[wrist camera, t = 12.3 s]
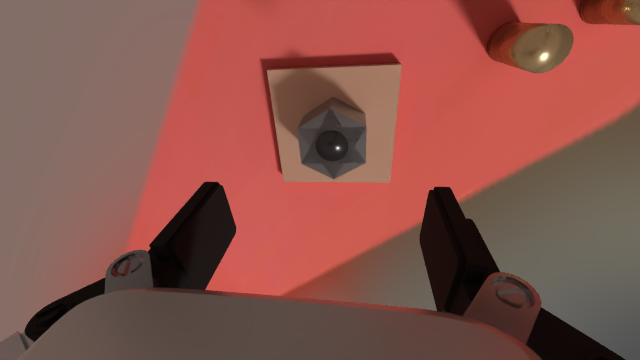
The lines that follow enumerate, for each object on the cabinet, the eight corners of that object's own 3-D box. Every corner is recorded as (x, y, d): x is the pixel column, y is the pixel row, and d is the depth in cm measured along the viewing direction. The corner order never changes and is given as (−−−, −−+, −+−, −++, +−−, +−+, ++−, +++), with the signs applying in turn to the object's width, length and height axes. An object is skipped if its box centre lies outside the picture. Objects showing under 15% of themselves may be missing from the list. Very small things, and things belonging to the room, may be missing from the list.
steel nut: (301, 97, 21) (294, 109, 18) (365, 94, 20) (367, 106, 18) (308, 162, 24) (303, 180, 21) (364, 161, 23) (365, 180, 21)
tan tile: (269, 68, 21) (266, 70, 20) (400, 62, 19) (401, 64, 19) (285, 176, 26) (283, 181, 25) (389, 178, 25) (390, 182, 24)
